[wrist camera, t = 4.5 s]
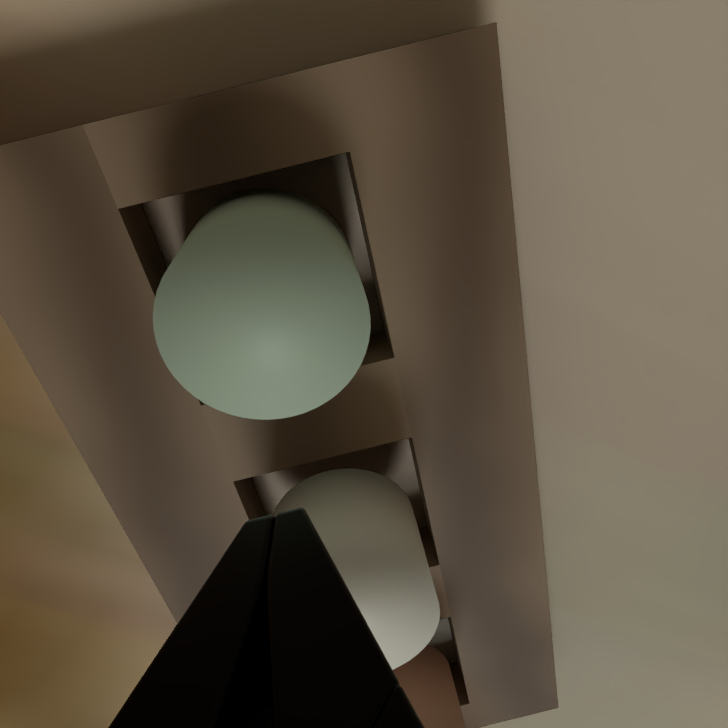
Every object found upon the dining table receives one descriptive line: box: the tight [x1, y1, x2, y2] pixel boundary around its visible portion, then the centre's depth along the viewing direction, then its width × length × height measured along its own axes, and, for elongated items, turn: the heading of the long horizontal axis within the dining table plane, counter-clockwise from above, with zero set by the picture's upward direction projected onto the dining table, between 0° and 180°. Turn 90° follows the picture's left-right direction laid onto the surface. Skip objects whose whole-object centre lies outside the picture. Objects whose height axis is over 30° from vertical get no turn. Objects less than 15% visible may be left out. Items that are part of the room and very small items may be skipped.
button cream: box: [273, 469, 440, 670], centre depth 18 cm, size 5×5×4 cm
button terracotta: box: [393, 644, 466, 728], centre depth 22 cm, size 5×5×4 cm
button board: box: [0, 23, 558, 728], centre depth 21 cm, size 14×28×2 cm, turn 12°
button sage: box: [153, 188, 371, 420], centre depth 15 cm, size 5×5×4 cm
